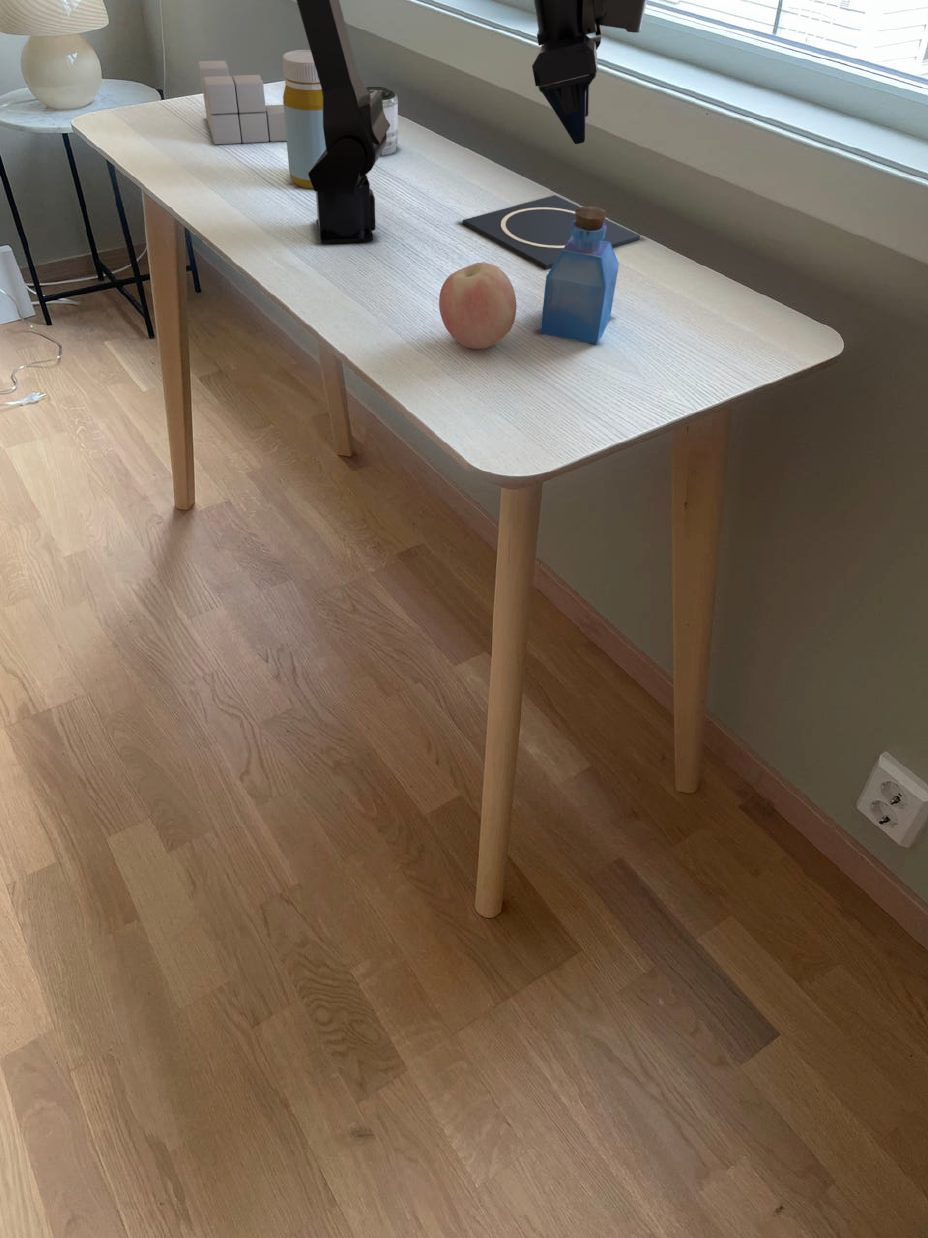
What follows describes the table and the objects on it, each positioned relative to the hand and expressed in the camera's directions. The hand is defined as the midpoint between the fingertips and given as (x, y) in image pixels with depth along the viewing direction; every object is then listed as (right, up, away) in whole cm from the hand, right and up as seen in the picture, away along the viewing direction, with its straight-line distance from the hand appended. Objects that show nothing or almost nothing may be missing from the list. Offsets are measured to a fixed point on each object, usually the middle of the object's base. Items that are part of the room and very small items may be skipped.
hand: (581, 129), depth 103 cm
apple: (-12, -26, -7) cm, 29 cm away
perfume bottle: (-1, -23, -3) cm, 23 cm away
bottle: (-33, +6, +24) cm, 42 cm away
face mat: (-2, -5, +15) cm, 16 cm away
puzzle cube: (-46, +20, +38) cm, 63 cm away
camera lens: (-26, +15, +34) cm, 45 cm away
